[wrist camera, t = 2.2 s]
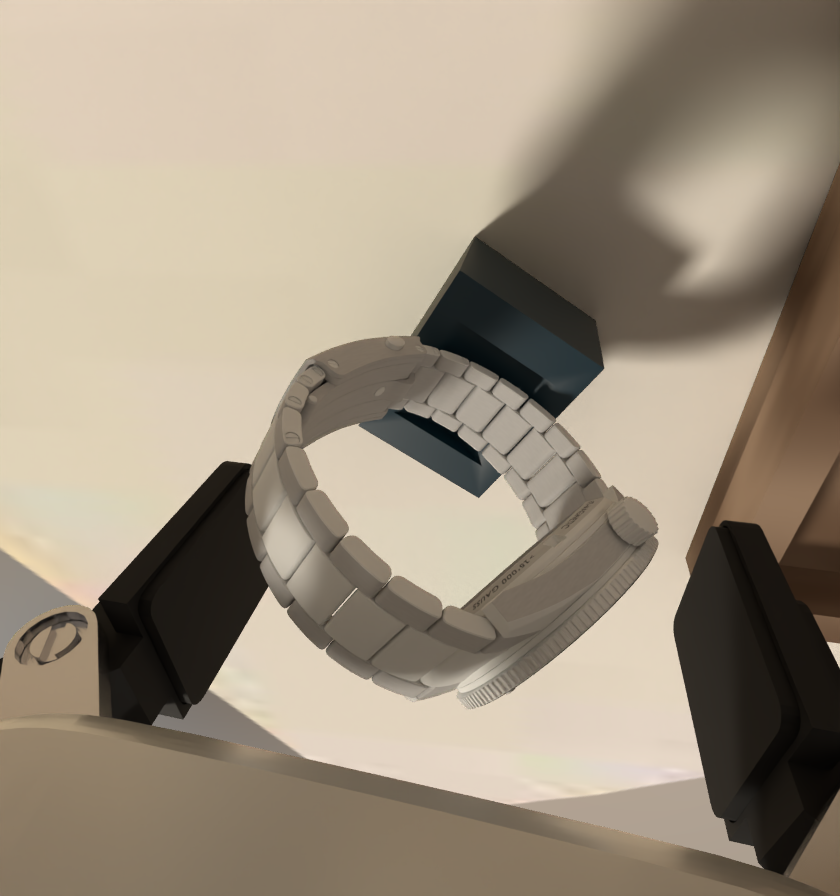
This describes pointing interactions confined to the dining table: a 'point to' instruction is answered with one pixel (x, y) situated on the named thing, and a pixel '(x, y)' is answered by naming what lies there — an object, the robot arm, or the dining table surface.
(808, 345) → the tray
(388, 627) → the watch
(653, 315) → the dining table surface
